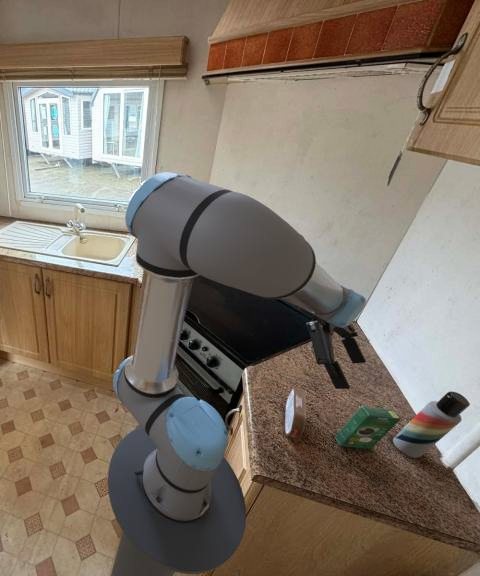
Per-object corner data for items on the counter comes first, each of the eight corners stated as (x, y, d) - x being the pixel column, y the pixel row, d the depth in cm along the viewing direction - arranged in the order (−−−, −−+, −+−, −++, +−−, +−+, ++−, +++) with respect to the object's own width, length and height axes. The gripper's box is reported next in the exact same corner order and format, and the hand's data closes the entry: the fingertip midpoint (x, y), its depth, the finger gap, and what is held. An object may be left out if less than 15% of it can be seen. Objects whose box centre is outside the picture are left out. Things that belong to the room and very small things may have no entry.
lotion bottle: (391, 433, 83) (440, 382, 72) (418, 445, 80) (473, 395, 69) (393, 449, 79) (446, 398, 68) (422, 463, 76) (481, 412, 65)
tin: (295, 447, 77) (309, 427, 73) (281, 441, 79) (295, 421, 74) (295, 404, 89) (307, 384, 84) (283, 399, 90) (294, 380, 85)
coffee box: (364, 439, 81) (393, 408, 74) (372, 450, 78) (403, 418, 71) (333, 436, 81) (359, 404, 74) (340, 447, 78) (368, 415, 71)
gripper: (314, 284, 86) (348, 354, 85) (275, 315, 72) (316, 400, 71) (345, 276, 80) (383, 351, 79) (309, 308, 66) (355, 400, 64)
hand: (351, 374), depth 75 cm, fingers open, 13 cm apart
